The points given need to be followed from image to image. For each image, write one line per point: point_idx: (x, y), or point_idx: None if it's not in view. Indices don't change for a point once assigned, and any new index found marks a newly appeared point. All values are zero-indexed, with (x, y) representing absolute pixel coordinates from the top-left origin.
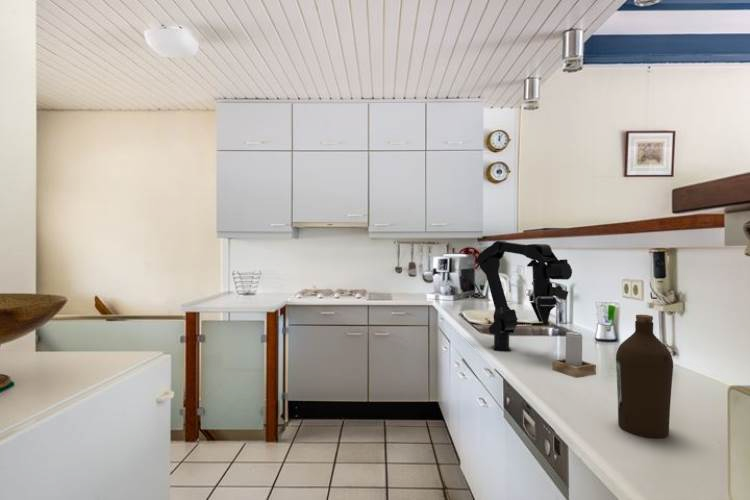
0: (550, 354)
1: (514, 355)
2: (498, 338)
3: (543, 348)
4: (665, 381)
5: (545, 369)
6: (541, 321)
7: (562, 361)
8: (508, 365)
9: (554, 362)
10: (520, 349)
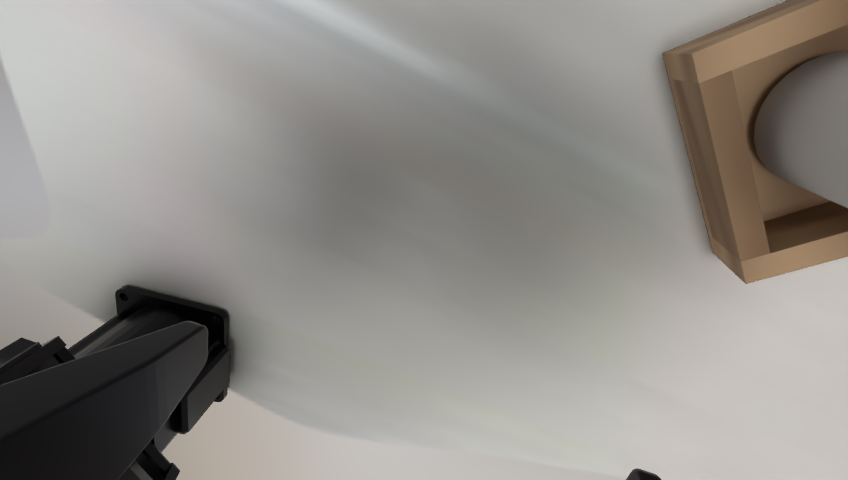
0: (271, 54)
1: (333, 332)
2: (175, 434)
3: (74, 22)
4: None
5: (694, 294)
6: (204, 338)
7: (753, 192)
8: (565, 452)
9: (764, 273)
10: (159, 227)
